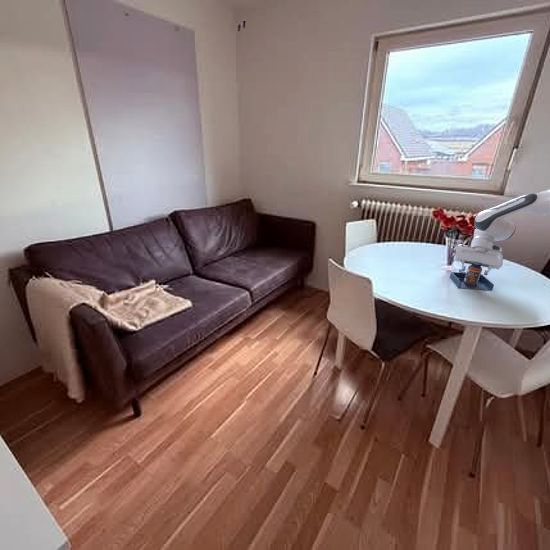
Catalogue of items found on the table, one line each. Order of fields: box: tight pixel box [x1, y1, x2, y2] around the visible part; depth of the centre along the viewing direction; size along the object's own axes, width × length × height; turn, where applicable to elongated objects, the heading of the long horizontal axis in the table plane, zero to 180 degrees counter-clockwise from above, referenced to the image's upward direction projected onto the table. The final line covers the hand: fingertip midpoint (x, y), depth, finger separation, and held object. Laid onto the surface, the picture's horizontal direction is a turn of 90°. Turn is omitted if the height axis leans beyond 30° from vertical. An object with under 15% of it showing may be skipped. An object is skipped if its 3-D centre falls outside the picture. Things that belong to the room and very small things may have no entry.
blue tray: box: [449, 268, 495, 292], centre depth 158 cm, size 20×15×3 cm
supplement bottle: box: [464, 261, 483, 286], centre depth 152 cm, size 6×6×11 cm
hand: (474, 272), depth 151 cm, fingers open, 8 cm apart
